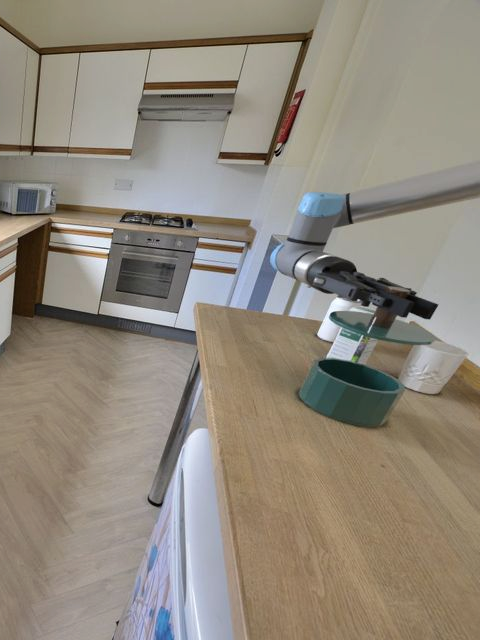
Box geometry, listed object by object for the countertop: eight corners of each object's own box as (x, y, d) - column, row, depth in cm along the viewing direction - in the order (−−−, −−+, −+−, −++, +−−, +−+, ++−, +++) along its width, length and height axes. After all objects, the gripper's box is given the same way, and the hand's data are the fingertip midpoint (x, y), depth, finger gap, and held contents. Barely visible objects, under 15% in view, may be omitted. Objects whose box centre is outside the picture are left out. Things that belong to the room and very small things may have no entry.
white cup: (393, 373, 97) (415, 335, 92) (441, 387, 92) (467, 347, 87) (392, 385, 92) (415, 345, 87) (442, 400, 87) (470, 359, 82)
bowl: (383, 406, 83) (401, 374, 80) (386, 436, 74) (407, 402, 71) (302, 381, 91) (316, 351, 88) (295, 405, 82) (310, 373, 79)
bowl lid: (426, 331, 77) (451, 290, 73) (437, 356, 67) (466, 310, 63) (329, 310, 85) (346, 272, 82) (325, 330, 75) (345, 287, 72)
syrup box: (322, 362, 101) (349, 307, 94) (336, 358, 103) (363, 304, 96) (349, 373, 96) (379, 316, 90) (363, 369, 98) (393, 313, 92)
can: (325, 342, 112) (345, 301, 106) (311, 333, 117) (329, 293, 112) (351, 345, 111) (372, 303, 106) (336, 335, 117) (355, 295, 111)
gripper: (356, 291, 91) (459, 335, 69) (280, 286, 92) (358, 327, 71) (372, 258, 87) (485, 293, 66) (293, 253, 89) (379, 285, 67)
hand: (419, 310), depth 69 cm, fingers closed on bowl lid, 3 cm apart
